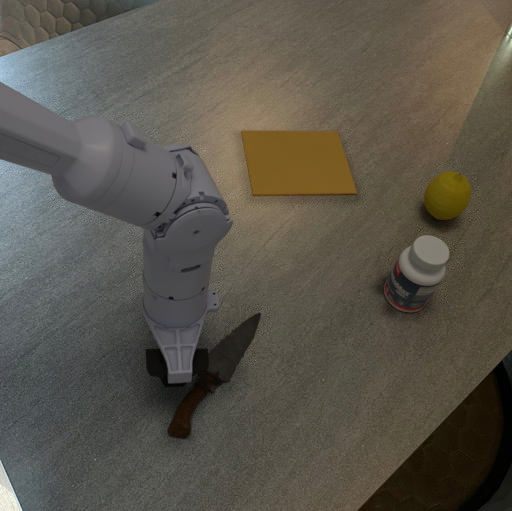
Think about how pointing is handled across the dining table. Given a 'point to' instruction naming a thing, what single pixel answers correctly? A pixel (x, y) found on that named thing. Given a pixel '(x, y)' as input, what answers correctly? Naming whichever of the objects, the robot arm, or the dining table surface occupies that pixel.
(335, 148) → the cloth
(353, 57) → the dining table surface
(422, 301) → the pill bottle
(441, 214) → the fruit
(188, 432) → the knife
